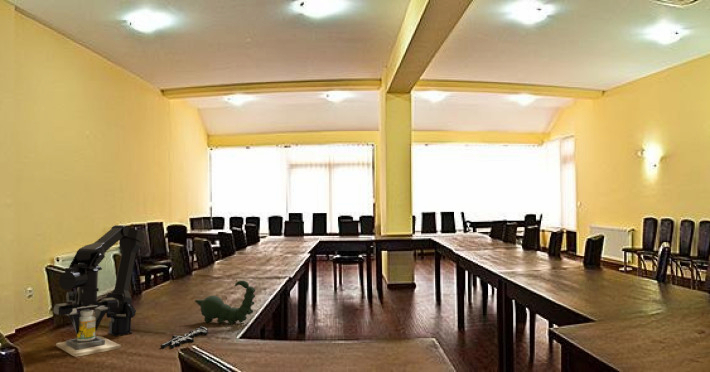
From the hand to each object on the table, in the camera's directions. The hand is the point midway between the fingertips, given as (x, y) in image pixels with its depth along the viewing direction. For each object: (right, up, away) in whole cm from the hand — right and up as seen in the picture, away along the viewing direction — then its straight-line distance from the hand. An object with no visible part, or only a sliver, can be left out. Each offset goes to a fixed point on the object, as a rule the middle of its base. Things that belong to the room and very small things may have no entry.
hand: (86, 331), depth 164 cm
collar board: (+1, -5, 0) cm, 5 cm away
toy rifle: (+30, -7, +13) cm, 33 cm away
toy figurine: (+36, -8, +38) cm, 53 cm away
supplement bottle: (0, -3, 0) cm, 3 cm away
